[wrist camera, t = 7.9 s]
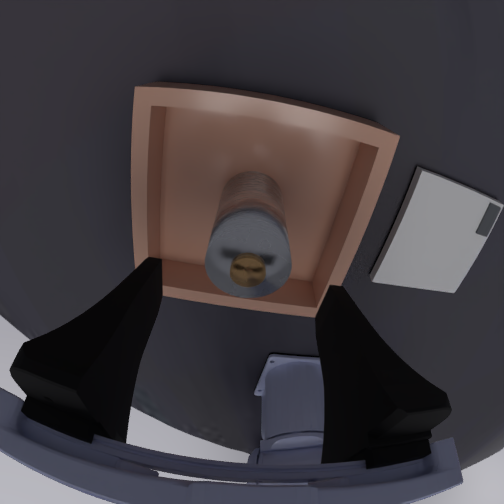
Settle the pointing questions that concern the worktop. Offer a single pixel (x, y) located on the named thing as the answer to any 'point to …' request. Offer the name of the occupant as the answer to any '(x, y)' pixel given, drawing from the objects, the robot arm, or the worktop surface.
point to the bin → (260, 160)
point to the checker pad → (436, 234)
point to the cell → (249, 238)
